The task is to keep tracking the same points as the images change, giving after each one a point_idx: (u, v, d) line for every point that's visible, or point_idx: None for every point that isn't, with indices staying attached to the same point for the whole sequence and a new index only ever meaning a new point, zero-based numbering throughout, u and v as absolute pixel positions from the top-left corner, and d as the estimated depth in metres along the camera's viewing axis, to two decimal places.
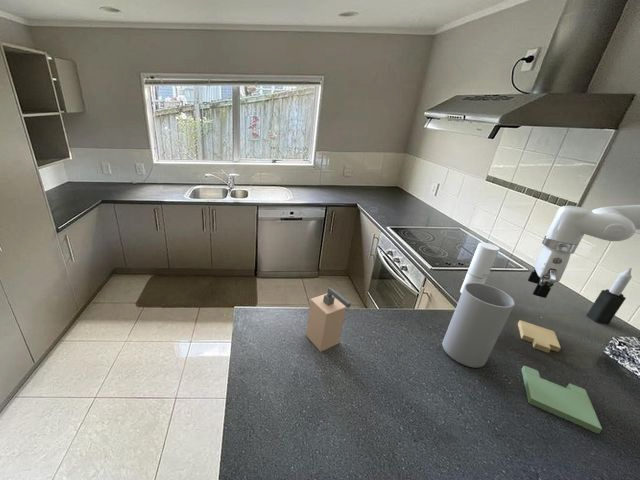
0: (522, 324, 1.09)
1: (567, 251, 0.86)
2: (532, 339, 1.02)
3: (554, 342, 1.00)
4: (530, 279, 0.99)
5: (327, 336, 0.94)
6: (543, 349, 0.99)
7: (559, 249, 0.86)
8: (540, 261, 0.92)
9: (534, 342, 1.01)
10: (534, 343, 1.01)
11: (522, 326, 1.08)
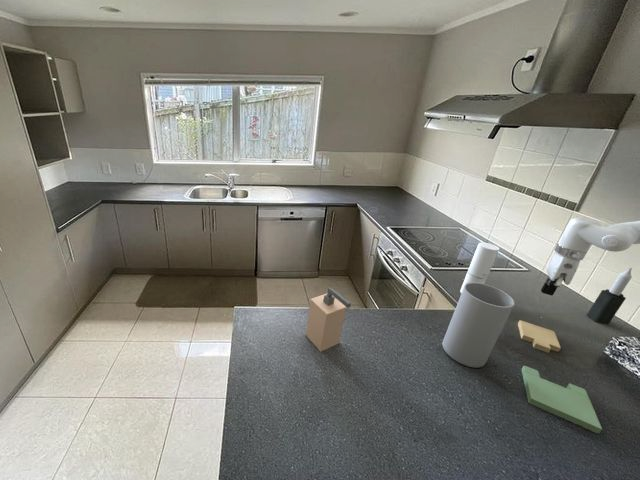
0: (522, 324, 1.09)
1: (577, 258, 0.97)
2: (532, 339, 1.02)
3: (554, 342, 1.00)
4: None
5: (327, 336, 0.94)
6: (543, 349, 0.99)
7: (570, 256, 0.98)
8: (552, 266, 1.03)
9: (534, 342, 1.01)
10: (534, 343, 1.01)
11: (522, 326, 1.08)
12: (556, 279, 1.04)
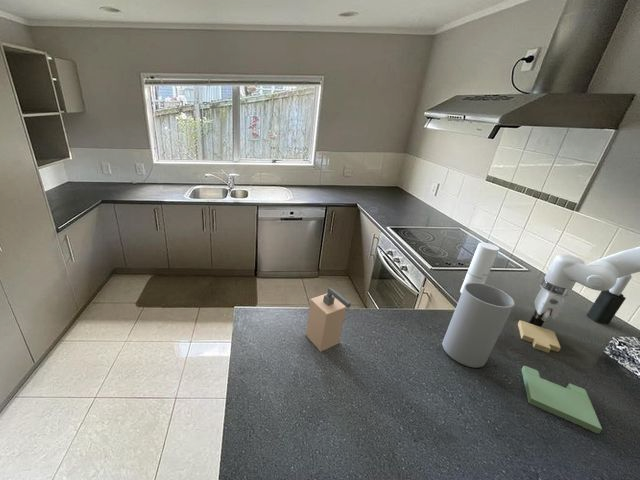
0: (522, 324, 1.09)
1: (562, 294, 1.00)
2: (532, 339, 1.02)
3: (554, 342, 1.00)
4: None
5: (327, 336, 0.94)
6: (543, 349, 0.99)
7: (555, 292, 1.00)
8: (539, 300, 1.06)
9: (534, 342, 1.01)
10: (534, 343, 1.01)
11: (522, 326, 1.07)
12: None
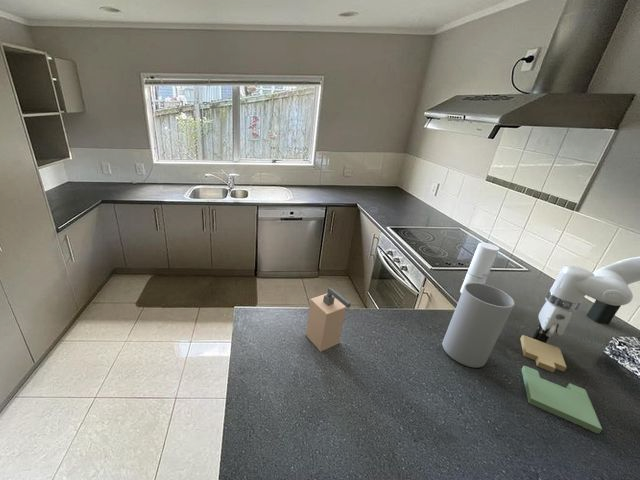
0: (525, 339, 1.01)
1: (569, 309, 0.92)
2: (535, 357, 0.95)
3: (559, 360, 0.93)
4: None
5: (327, 336, 0.94)
6: (547, 368, 0.91)
7: (562, 306, 0.93)
8: (544, 314, 0.98)
9: (537, 360, 0.93)
10: (537, 361, 0.93)
11: (525, 342, 1.00)
12: None
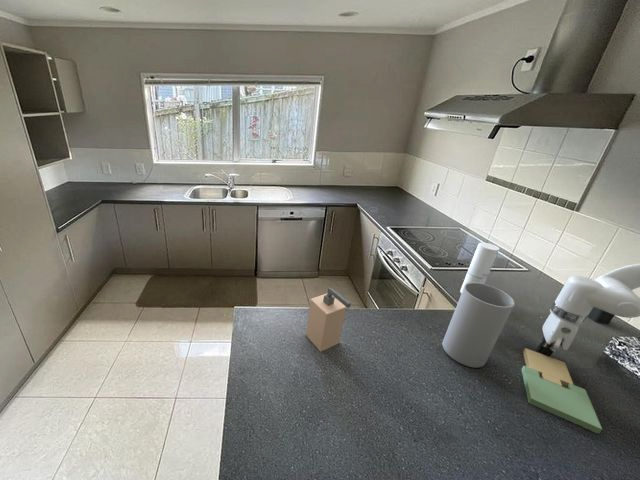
0: (528, 353, 0.95)
1: (576, 322, 0.86)
2: (540, 373, 0.89)
3: (565, 377, 0.87)
4: None
5: (327, 336, 0.94)
6: None
7: (568, 319, 0.87)
8: (548, 327, 0.92)
9: (542, 377, 0.87)
10: (542, 378, 0.87)
11: (528, 356, 0.94)
12: None
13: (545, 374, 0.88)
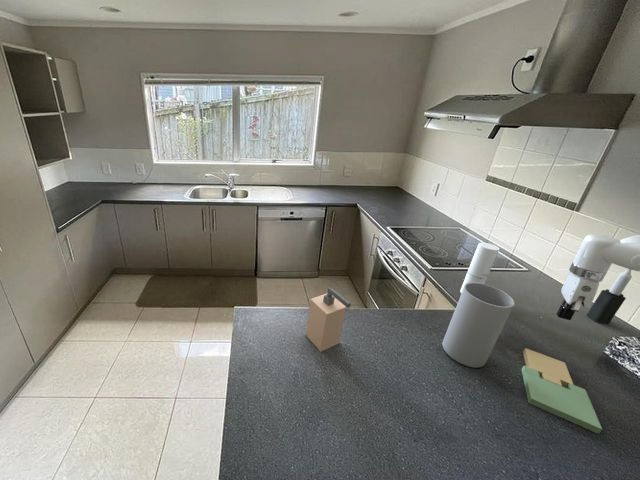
0: (528, 353, 0.95)
1: (596, 279, 0.87)
2: (540, 373, 0.89)
3: (565, 377, 0.87)
4: None
5: (327, 336, 0.94)
6: None
7: (587, 277, 0.88)
8: (568, 288, 0.93)
9: (542, 377, 0.87)
10: (542, 378, 0.87)
11: (528, 356, 0.94)
12: (573, 302, 0.93)
13: (545, 374, 0.88)
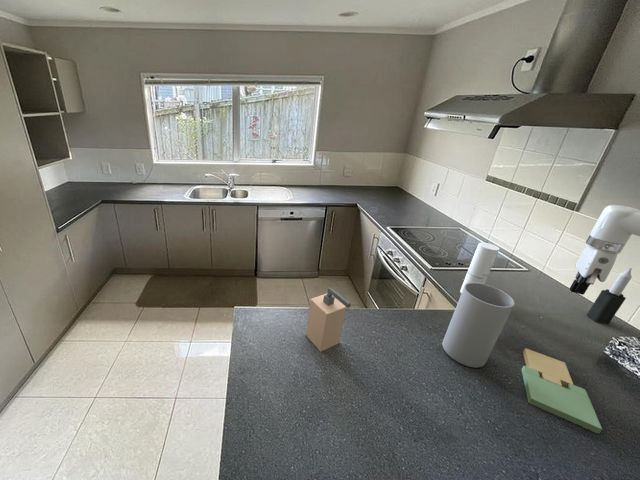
0: (528, 353, 0.95)
1: (614, 251, 0.85)
2: (540, 373, 0.89)
3: (565, 377, 0.87)
4: None
5: (327, 336, 0.94)
6: None
7: (605, 249, 0.86)
8: (583, 261, 0.91)
9: (542, 377, 0.87)
10: (542, 378, 0.87)
11: (528, 356, 0.94)
12: (588, 276, 0.91)
13: (545, 374, 0.88)
